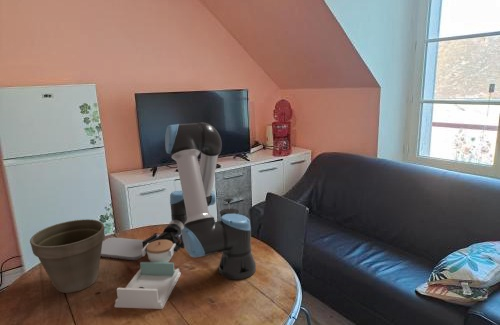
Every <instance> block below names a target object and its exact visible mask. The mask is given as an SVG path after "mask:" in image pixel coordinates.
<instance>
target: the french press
mask: <svg viewBox="0 0 500 325" xmlns="http://www.w3.org/2000/svg"><path fill="white" fill-rule="evenodd" d="M223 201H224V202H225V203H226V202H227V204H228V206H230V204H231V202H233V201H234V199H233V198H225V199H224V200H223ZM239 213H240V212H239V210H238V209H236V208H225V209H222V210H220V211H219V215H220V218H221V217H222V216H223V215H225V214H239ZM218 221H219V220H217V221H216V222H218Z"/></svg>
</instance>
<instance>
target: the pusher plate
mask: <svg viewBox="0 0 500 325" xmlns="http://www.w3.org/2000/svg"><path fill="white" fill-rule="evenodd" d="M174 263H175V262H172V261H171V262H170V261H169V262H151V261H140V262H139V265H140V268H141V275H173V274H174V273H175V271H174V270H175V264H174ZM140 268H139V269H140Z"/></svg>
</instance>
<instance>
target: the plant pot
mask: <svg viewBox="0 0 500 325" xmlns="http://www.w3.org/2000/svg"><path fill="white" fill-rule="evenodd" d="M105 234H106V233H105V225H104V223H103V222H102V221H100V220H97V219H84V218H83V219H75V220H68V221H65V222H60V223H55V224H53V225H51V226H48V227H45V228H43V229H41V230H39V231H38V232H36V233H35V234H33V235H32V236H31V238H30V240H29V243H30V247H31V250H32V254H33V255H34V256H35V257H37V258H38V260H39V262H40V264H41V265H42V267H43V269H44V270H45V273H46V274H47V276H48V277H49V280H50V281H51V282H52V283H51V284H52V285H53V286H54V288H55V289H56V290H57V291H58V292H60V293H65V294H68V293H69V294H70V293H77V292H80V291H82V290H85V289H87V288H89V287H91V286H92V285H93V284H94V283H96V282H97V279H98V275H99V269H100V263H101V249H102V242H103V241H104V240H105V238H106V235H105Z"/></svg>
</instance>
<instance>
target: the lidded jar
mask: <svg viewBox="0 0 500 325" xmlns="http://www.w3.org/2000/svg"><path fill="white" fill-rule="evenodd" d="M172 246H173V242H172V241H170V240H156V241H153V242H151V243H149V244H148V245H147V246H146V249H147V253H146V255H147V259H148V260H149V262H170V261H171V259H172V258H173V256H172V257H170V254H169V250H170V249H171V247H172Z"/></svg>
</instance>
